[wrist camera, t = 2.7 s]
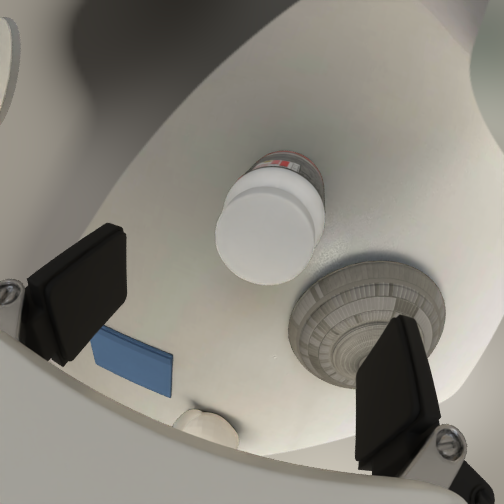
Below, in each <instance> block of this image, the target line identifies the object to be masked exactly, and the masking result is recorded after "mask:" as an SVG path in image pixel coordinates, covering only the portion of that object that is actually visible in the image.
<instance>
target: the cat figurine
mask: <svg viewBox="0 0 504 504" xmlns="http://www.w3.org/2000/svg"><path fill="white" fill-rule="evenodd" d="M172 427H173V428H176V429H178V430H181V431H184V432H186V433H189V434H192V435H194V436H197V437H200V438H203V439H205V440H208V441H211V442H214V443H217V444H220V445H224V446H227V447H230V448H233V449H238V446H239V437H238V434H237V432H236V431H235V430H234V429H233V427H232V426H231V425H230V424H229V423H228V422H227V421H226V420H225V419H224V418H222V417H221V416H219V415H217V414H214V413H210V412H202V411H200V410H196V409H191V410H188V411H186V412H184V413H183V414H182V415H181V416H180V417H179V418H178V419H177V420H176V422H175V423H174V424H173V426H172Z"/></svg>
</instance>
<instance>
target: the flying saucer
mask: <svg viewBox="0 0 504 504" xmlns="http://www.w3.org/2000/svg"><path fill="white" fill-rule="evenodd" d="M398 315H404V316H408V317H411V318H414V319H415V320H416V322H417V325H418V328H419V331H420V335H421V338H422V341H423V345H424V348H425V352H426V355H427V358H428V357H429V356H430V354H431V353H432V352H433V350H434V349H435V347H436V345H437V343H438V342H439V339H440V337H441V335H442V332H443V328H444V324H445V316H446V310H445V303H444V299H443V297H442V294H441V292H440V290H439V288H438V287H437V285H436V284H435V283H434V282H433V281H432V280H431V279H430V278H429V277H428V276H427V275H426V274H424V273H423V272H421V271H419V270H418V269H416V268H414V267H411V266H409V265H406V264H402V263H398V262H392V261H368V262H361V263H356V264H353V265H349V266H346V267H343V268H341V269H338V270H336V271H334V272H332V273H330V274H328V275H326V276H325V277H323V278H321V279H320V280H318V281H317V282H316V283H315V284H313V285H312V286H311V287H310V288H309V289H308V290H307V291H306V292H305V293H304V294H303V295H302V296H301V298H300V299H299V301H298V302H297V304H296V305H295V307H294V309H293V311H292V314H291V317H290V321H289V328H288V334H289V341H290V345H291V348H292V350H293V352H294V354H295V355H296V357H297V359H298V360H299V361H300V363H301V364H302V365H303V366H304V367H305V368H306V369H307V370H308V371H309V372H311V373H312V374H313V375H315V376H316V377H318V378H319V379H321V380H323V381H325V382H327V383H330V384H333V385H335V386H339V387H343V388H350V389H356V374H357V371H358V369H359V368H360V366H361V365H362V363H363V362H364V360H365V359H366V357H367V356H368V354H369V353H370V351H371V350H372V348H373V347H374V345H375V344H376V342H377V341H378V339H379V338H380V336H381V335H382V333H383V331H384V330H385V328H386V327H387V325H388V323H389V322H390V320H391V319H392V318H393V317H395V318H396V317H397V316H398Z"/></svg>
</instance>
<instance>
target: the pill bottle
mask: <svg viewBox="0 0 504 504" xmlns="http://www.w3.org/2000/svg"><path fill="white" fill-rule="evenodd" d="M324 226H325V200H324V184H323V179H322V176H321V174H320V172H319V170H318V168H317V167H316V166H315V164H314V163H313V162H312V161H311V160H309V159H308V158H307V157H305V156H303V155H301V154H299V153H296V152H292V151H276V152H273V153H270V154H268V155H266V156H264V157H262V158H261V159H260V160H259V161H257V162H256V163H255V164H254V165H253V166H252V167H251V168H250V169H249V170H248V171H247V172H246V173H245V174H244V175H242V176H241V177H240V178H239V179H238V180H237V181H236V183H235V184H234V185H233V186H232V188H231V189H230V191H229V192H228V194H227V196H226V199H225V202H224V207H223V212H222V213H221V215H220V217H219V219H218V221H217V224H216V229H215V242H216V247H217V250H218V253H219V255H220V257H221V259H222V261H223V262H224V264H225V265H226V266H227V267H228V268H229V269H230V270H231V271H232V272H233V273H234V274H236V275H237V276H239V277H240V278H242V279H244V280H246V281H248V282H251V283H255V284H259V285H277V284H282V283H285V282H287V281H289V280H291V279H293V278H295V277H296V276H298V275H299V274H300V273H301V272H302V271H303V270H304V269H305V268H306V266H307V265H308V263H309V262H310V260H311V258H312V254H313V251H314V248H315V247H316V246H317V244H318V243H319V241H320V239H321V237H322V234H323V231H324Z"/></svg>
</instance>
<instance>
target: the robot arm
mask: <svg viewBox="0 0 504 504" xmlns="http://www.w3.org/2000/svg"><path fill="white" fill-rule="evenodd" d="M27 281H28V286H27V287H26V288H25V287H24V285H23V283H21V282H20V281H19V280H16V279H5V280H2V281H0V504H494V502H495V499H494V493H493V490H492V488H491V487H490V486H489V484H488V483H487V482H486V481H485V480H484V479H483V478H482V477H481V476H480V475H479V474H478V473H477V472H476V471H475V470H474V469H473V468H472V467H471V466H470V465H469V464H468V463H467V462H466V461H465V460H464V459H465V456H466V453H467V444H466V440H465V438H464V436H463V434H462V433H461V432H460V431H459V429H457V428H456V427H454V426H452V425H449V424H442V425H440V424H439V419H440V418H441V414H440V410H439V404H438V400H437V395H436V391H435V386H434V382H433V378H432V374H431V370H430V366H429V363H428V359H427V355H426V352H425V348H424V345H423V341H422V338H421V335H420V331H419V328H418V325H417V322H416V320H415V319H414V318H411V317H408V316H404V315H398V316H397V317H396V318H395V317H393V318H392V319H391V320H390V322H389V323H388V325H387V327H386V328H385V330H384V331H383V333H382V335H381V336H380V338H379V339H378V341H377V342H376V344H375V345H374V347H373V348H372V350H371V351H370V353H369V354H368V356H367V357H366V359H365V360H364V362H363V363H362V365H361V366H360V368H359V369H358V371H357V374H356V445H355V459H356V461H359V467H358V470H367V471H372V475H363V474H355V473H347V472H339V471H333V470H326V469H320V468H314V467H308V466H302V465H297V464H292V463H287V462H283V461H279V460H274V459H270V458H266V457H262V456H258V455H254V454H251V453H247V452H244V451H240V450H237V449H233V448H230V447H227V446H224V445H220V444H217V443H214V442H211V441H208V440H205V439H203V438H200V437H197V436H194V435H192V434H189V433H186V432H184V431H181V430H178V429H176V428H173V427H171V426H169V425H166V424H164V423H161V422H159V421H157V420H154V419H152V418H150V417H148V416H145V415H143V414H141V413H139V412H137V411H135V410H133V409H131V408H128V407H126V406H124V405H122V404H120V403H118V402H116V401H114V400H113V399H111V398H109V397H107V396H105V395H103V394H101V393H99V392H98V391H96V390H94V389H92V388H90V387H89V386H87V385H85V384H83V383H82V382H80V381H78V380H77V379H75V378H73V377H72V376H70V375H68V374H67V373H65V372H64V371H62V370H61V369H59V368H57V367H56V366H54V365H52V364H51V363H49V362H48V361H49V359H50V358H52V360H53V361H55V362H56V363H58V364H59V365H61V366H62V367H64V366H65V364H66V363H67V362H68V361H73V360H74V359H75V357H76V356H77V355H78V354H79V353H80V352H81V350H82V349H83V348H84V347H85V346H86V345H87V343H88V342H89V341H90V340H91V339H92V338H93V337H94V335H95V334H96V333H97V332H98V331H99V330H100V329H101V327H102V326H103V325H104V324H105V323H106V322H107V321H108V320H109V318H110V317H111V316H112V315H113V314H114V313H115V312H116V311H117V310H118V308H119V307H120V306H121V305H122V304H123V303H124V302H125V300H126V297H127V275H126V233H124V231H123V228H122V227H119V226H116V225H114V224H111V223H106V224H104V225H103V226H101V227H100V228H98V229H96V230H95V231H93V232H92V233H90V234H89V235H87V236H86V237H84V238H83V239H81V240H80V241H78V242H77V243H75V244H74V245H73V246H71V247H70V248H68V249H67V250H65V251H64V252H63V253H61V254H60V255H58V256H57V257H55V258H54V259H53V260H51V261H50V262H49V263H47V264H46V265H45V266H43V267H42V268H40V269H39V270H38V271H36V272H35V273H34V274H32V275H31V276H30V277H29V278H27Z"/></svg>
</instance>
